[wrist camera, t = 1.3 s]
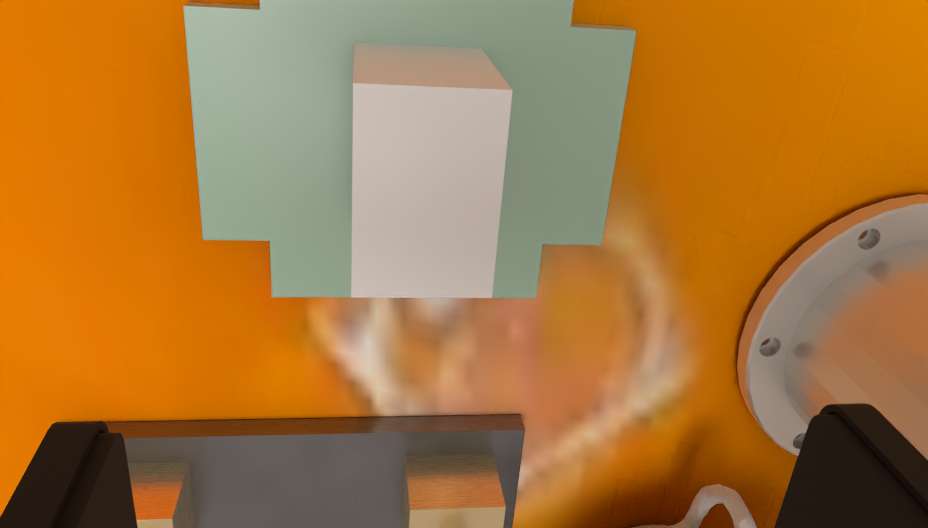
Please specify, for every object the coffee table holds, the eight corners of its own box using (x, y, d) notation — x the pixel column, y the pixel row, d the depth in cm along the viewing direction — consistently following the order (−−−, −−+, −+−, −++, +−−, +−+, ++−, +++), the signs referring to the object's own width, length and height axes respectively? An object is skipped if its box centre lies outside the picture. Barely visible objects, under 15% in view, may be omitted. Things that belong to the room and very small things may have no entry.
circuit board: (638, -46, 25) (724, -24, 19) (585, 285, 30) (640, 382, 24) (183, -78, 23) (124, -63, 17) (212, 283, 28) (174, 388, 22)
